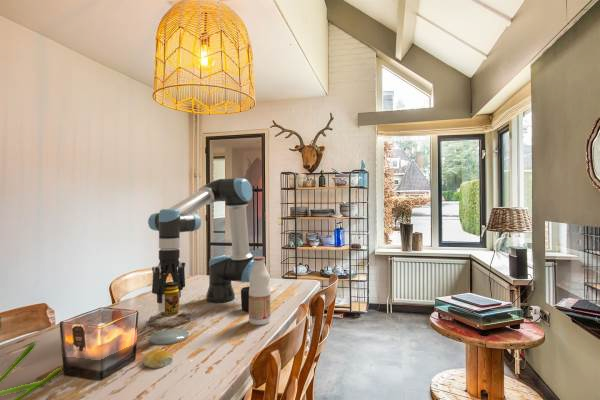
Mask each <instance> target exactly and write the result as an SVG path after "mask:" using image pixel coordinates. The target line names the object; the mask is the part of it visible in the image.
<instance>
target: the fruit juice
mask: <svg viewBox="0 0 600 400" xmlns="http://www.w3.org/2000/svg"><path fill="white" fill-rule="evenodd" d="M253 260H254V262H255V263H254V266H253V269H252V272H251V273H250V275H249V282H248V283H249V286H248V287H249V312H248V322H249V324H250V325H253V326H263V325H268V324H270V322H271V317H272V316H271V315H272V314H271V286H270V281H271V275H270V272H268V269H267V266H266V263H265V262H266V257H265V256H255V257H253Z"/></svg>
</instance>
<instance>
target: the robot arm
mask: <svg viewBox="0 0 600 400" xmlns="http://www.w3.org/2000/svg"><path fill="white" fill-rule="evenodd" d="M252 188H253V187H252V185H251V183H250V182H249V180H248V179H246V178H242V177H241V178H240V177H237V178H234V177H233V178H218V179H216V180H215V179H214V180H212V181H210V182H209V183H206V184H205V185H203V186H201V187H200V188H198V190H197V191H196V192H195V193H194V194H191V195H190V196H188V197H186V198H185V199H182V200H180V201H179V202H178V203H176V204H174V205H172V206H171V207H169V208H164V209H163V208H162V209H160V210H159V212H157V213H152V214H151V215H150V216H149V217H148V220H147V224H148V227H149V229H150V230H152V231H154V232H155V231H157V232H158V250H159V251H158V259H159V263H158V265H157V266H152V268H151V270H152V287H151V293H152V294H154V295H156V302H157V304H158V308H157V309H158V312H159V313H160V312H165V294H163V291H164V287H165V283H167V280H168V277H169V274H170V275H171V280H172V282H177V283H178V290H179V299H181V296H182V295H181V294H182V292H181V291H183V289H184V288H186V277H185V267H186V263H185V262H184V261H183V262H182V261H179V259H180V254H181V253H180V251H181V250H180V246H181V245H180V243H181V242H180V239H181V238H180V236H181V235H180V233H187V232H188V233H189V232H191V233H192V232H196V231H198V230H199V229H200V228H201V225H202V219H201V216H200V215H199V214H196V213H195V212H197V211H199V210H200V209H202V208H203V207H205V206H206V205H211V204H213V203H216V202H225V207H226V208H228V213H229V224H230V236H231V247H232V248H231V249H232V251H231V252H232V253H231V255H229V254H227V255H219V256H214V257H211V258H210V259H209V261H208V262H209V264H208V269H209V270H208V273H209V274H208V278H209V279H208V282H209V283H208V284H209V286H208V289H207V291H206V295H205V301H206V302H207V303H211V304H212V303H213V304H221V303H223V304H224V303H228V302H231V301H234V300H235V298H236V297H235V296H236V294H235V291H234V287H233V283H232V282H240V283H250V282H249V275H250V273H251V272H252V269H253V266H254V263H255V262H254V257H253V254H252V253H251V252H250V246H249V245H250V244H249V230H248V217H247V216H248V215H247V206H248V205H249V204H250V203H249V202H250V201H251V200H252V198H253V189H252Z"/></svg>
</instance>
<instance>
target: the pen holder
mask: <svg viewBox="0 0 600 400" xmlns="http://www.w3.org/2000/svg"><path fill="white" fill-rule="evenodd" d="M249 287H250V286H244V287H242V288H241V290H240V303H241V305H240V306H241V310H242V311H243V312H248V313H249Z"/></svg>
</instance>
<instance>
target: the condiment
mask: <svg viewBox="0 0 600 400" xmlns="http://www.w3.org/2000/svg"><path fill="white" fill-rule="evenodd" d="M163 294H165V312H160V311H159V313H156V314H154V315H153V316H161V317H164V318H175V317H178V316H177V315H179V314H180V313H184V310H180V298H179V290H178V283H177V282H173V281H168V282H167V281H166V283H165V287H164V291H163Z"/></svg>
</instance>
